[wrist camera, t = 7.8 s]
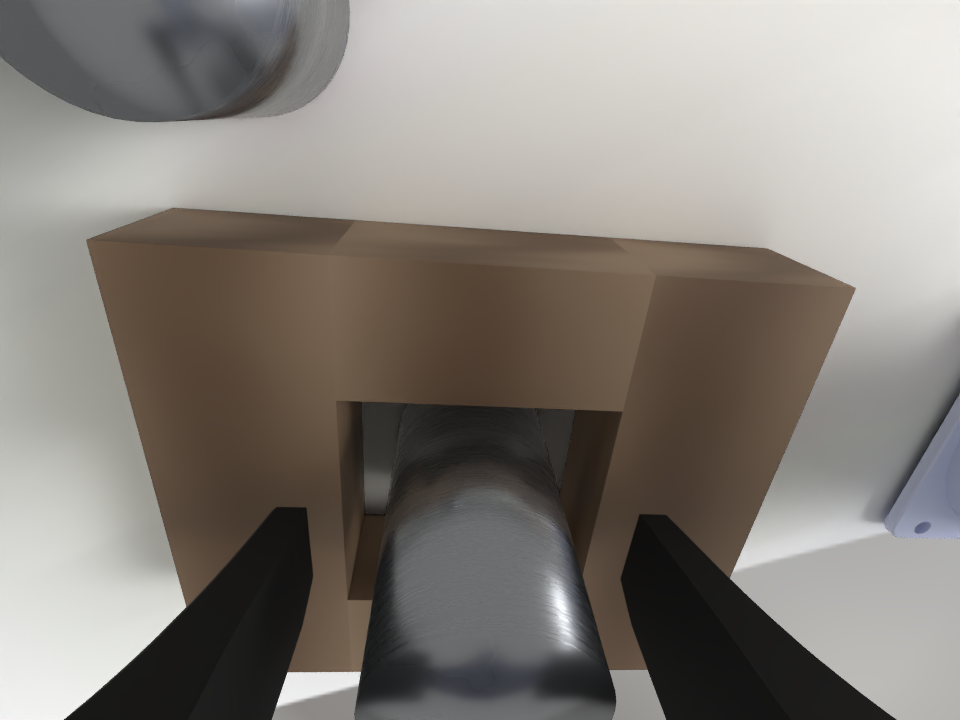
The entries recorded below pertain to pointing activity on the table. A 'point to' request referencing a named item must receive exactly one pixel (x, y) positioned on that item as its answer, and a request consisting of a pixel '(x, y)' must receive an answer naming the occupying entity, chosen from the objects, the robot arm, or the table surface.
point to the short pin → (177, 54)
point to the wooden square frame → (452, 382)
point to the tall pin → (479, 580)
